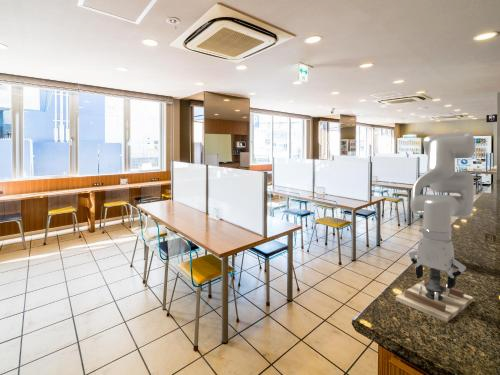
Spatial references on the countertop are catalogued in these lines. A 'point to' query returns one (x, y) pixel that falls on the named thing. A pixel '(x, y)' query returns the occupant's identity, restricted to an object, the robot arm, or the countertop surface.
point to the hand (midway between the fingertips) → (434, 282)
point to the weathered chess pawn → (434, 285)
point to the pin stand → (435, 301)
